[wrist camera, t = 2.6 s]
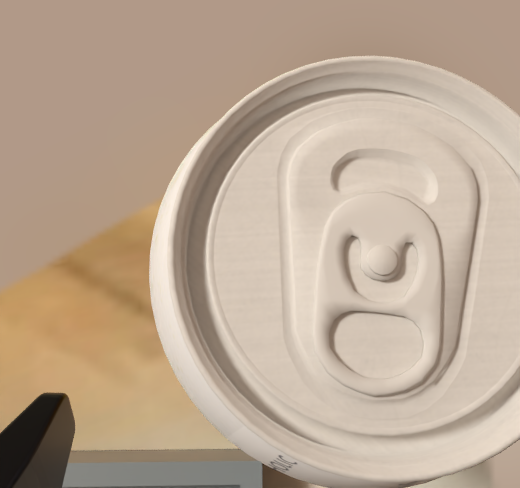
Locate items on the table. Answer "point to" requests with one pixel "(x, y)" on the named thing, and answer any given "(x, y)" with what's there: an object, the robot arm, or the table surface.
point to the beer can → (349, 273)
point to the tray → (163, 469)
